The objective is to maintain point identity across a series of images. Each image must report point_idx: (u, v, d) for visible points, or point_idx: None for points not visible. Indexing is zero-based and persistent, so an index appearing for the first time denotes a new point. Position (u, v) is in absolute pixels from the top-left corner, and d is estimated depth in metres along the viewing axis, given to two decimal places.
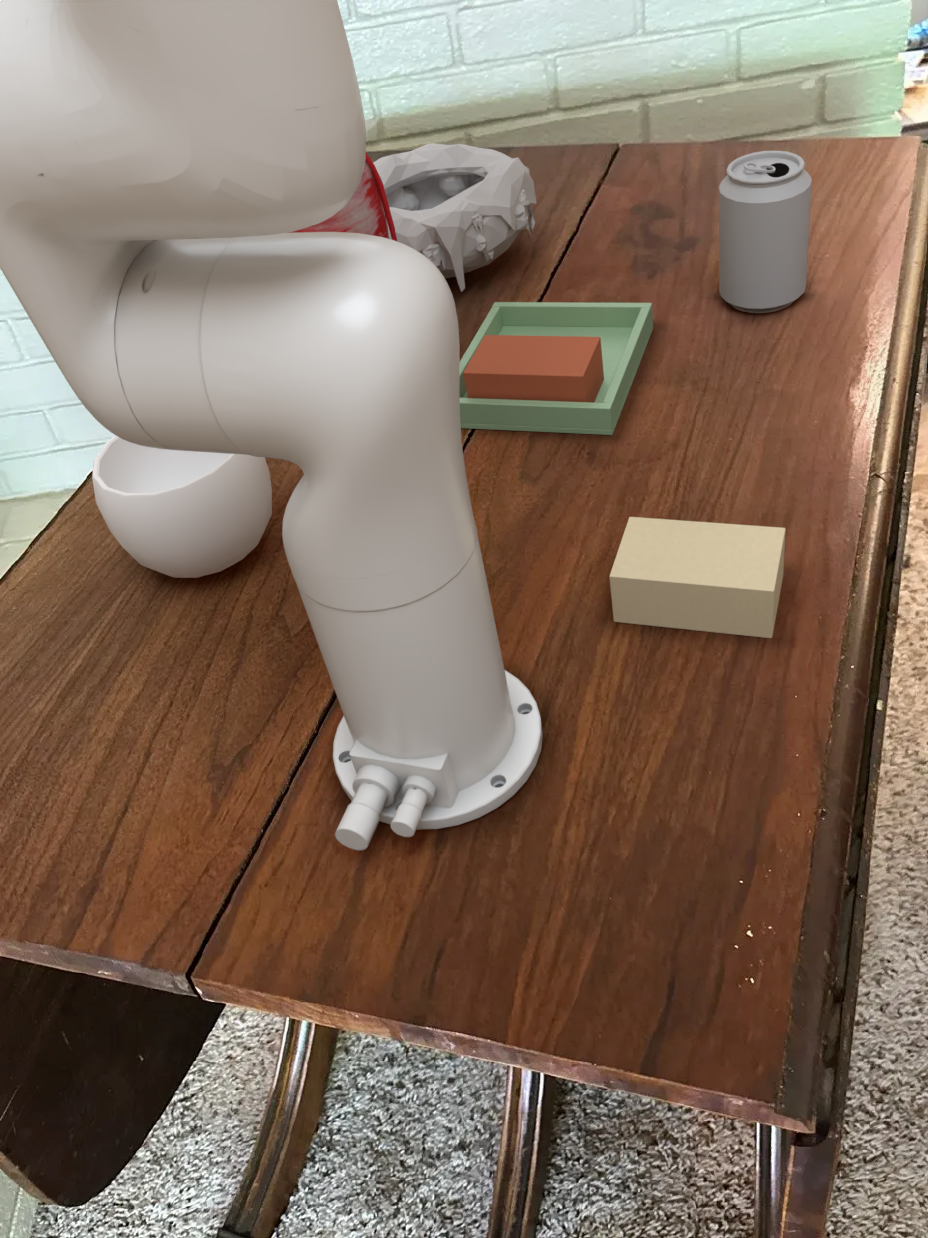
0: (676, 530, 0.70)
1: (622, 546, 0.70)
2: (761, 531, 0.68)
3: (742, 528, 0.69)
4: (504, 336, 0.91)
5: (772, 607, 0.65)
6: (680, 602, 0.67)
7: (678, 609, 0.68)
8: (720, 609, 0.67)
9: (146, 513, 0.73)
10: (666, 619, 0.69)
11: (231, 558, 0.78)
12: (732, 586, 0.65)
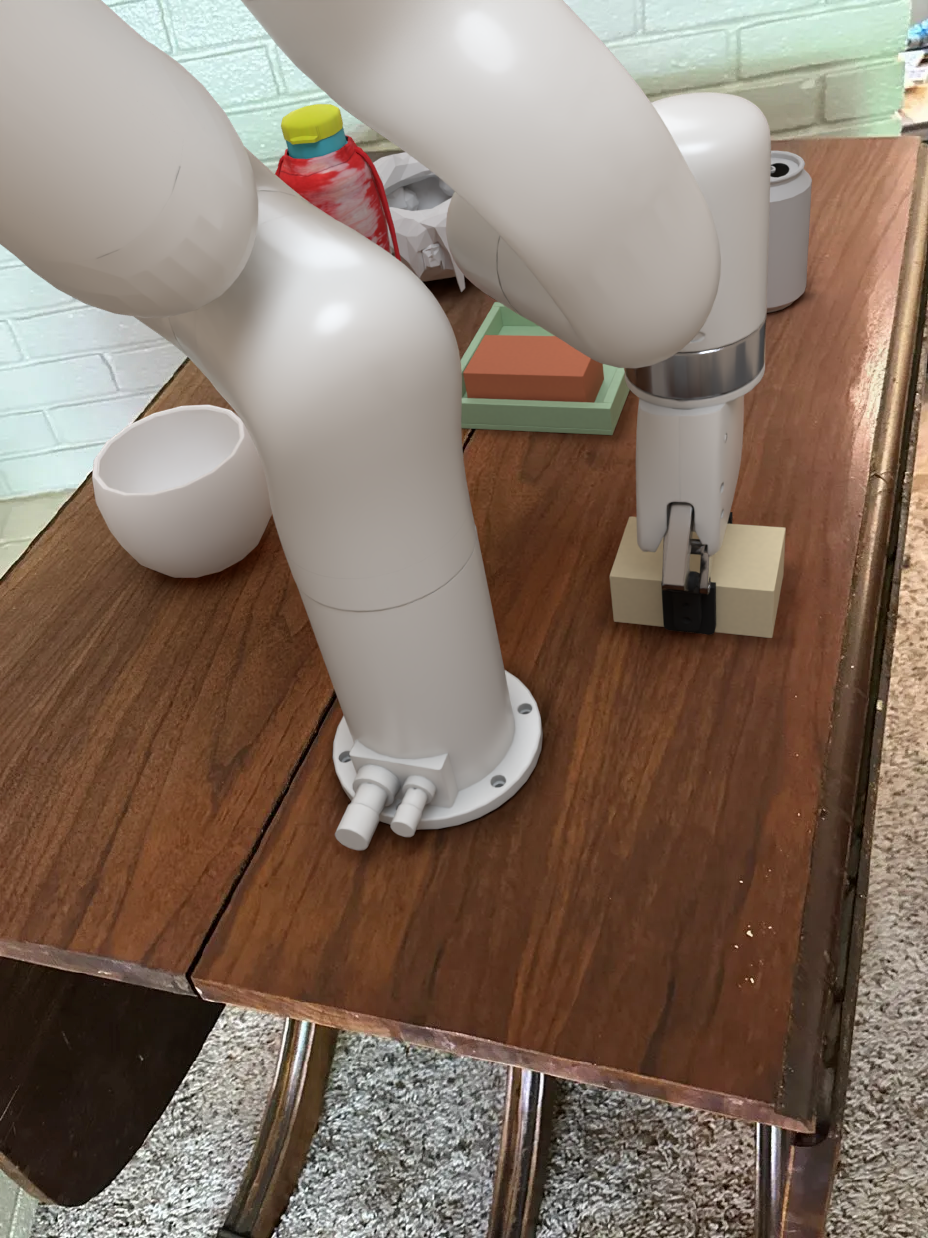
0: None
1: (622, 546, 0.70)
2: (761, 531, 0.68)
3: (742, 527, 0.69)
4: (504, 336, 0.91)
5: (772, 607, 0.65)
6: None
7: None
8: (720, 608, 0.67)
9: (146, 513, 0.73)
10: None
11: (231, 558, 0.78)
12: (732, 586, 0.65)
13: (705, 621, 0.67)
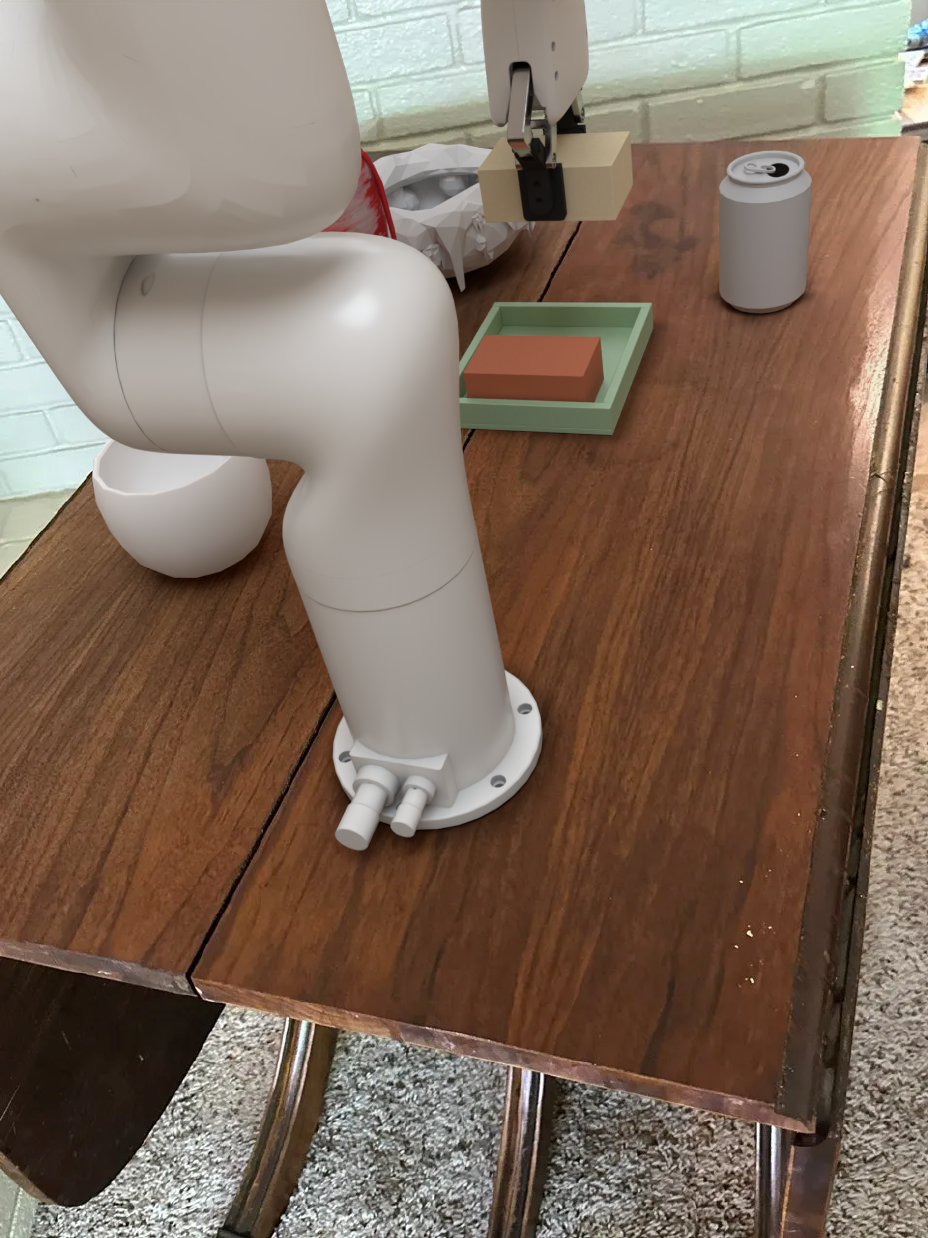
0: None
1: (491, 153, 0.81)
2: (609, 134, 0.79)
3: (594, 134, 0.80)
4: (504, 336, 0.91)
5: (612, 184, 0.76)
6: None
7: None
8: (570, 193, 0.78)
9: (146, 513, 0.73)
10: None
11: (231, 558, 0.78)
12: (577, 165, 0.76)
13: (556, 205, 0.78)
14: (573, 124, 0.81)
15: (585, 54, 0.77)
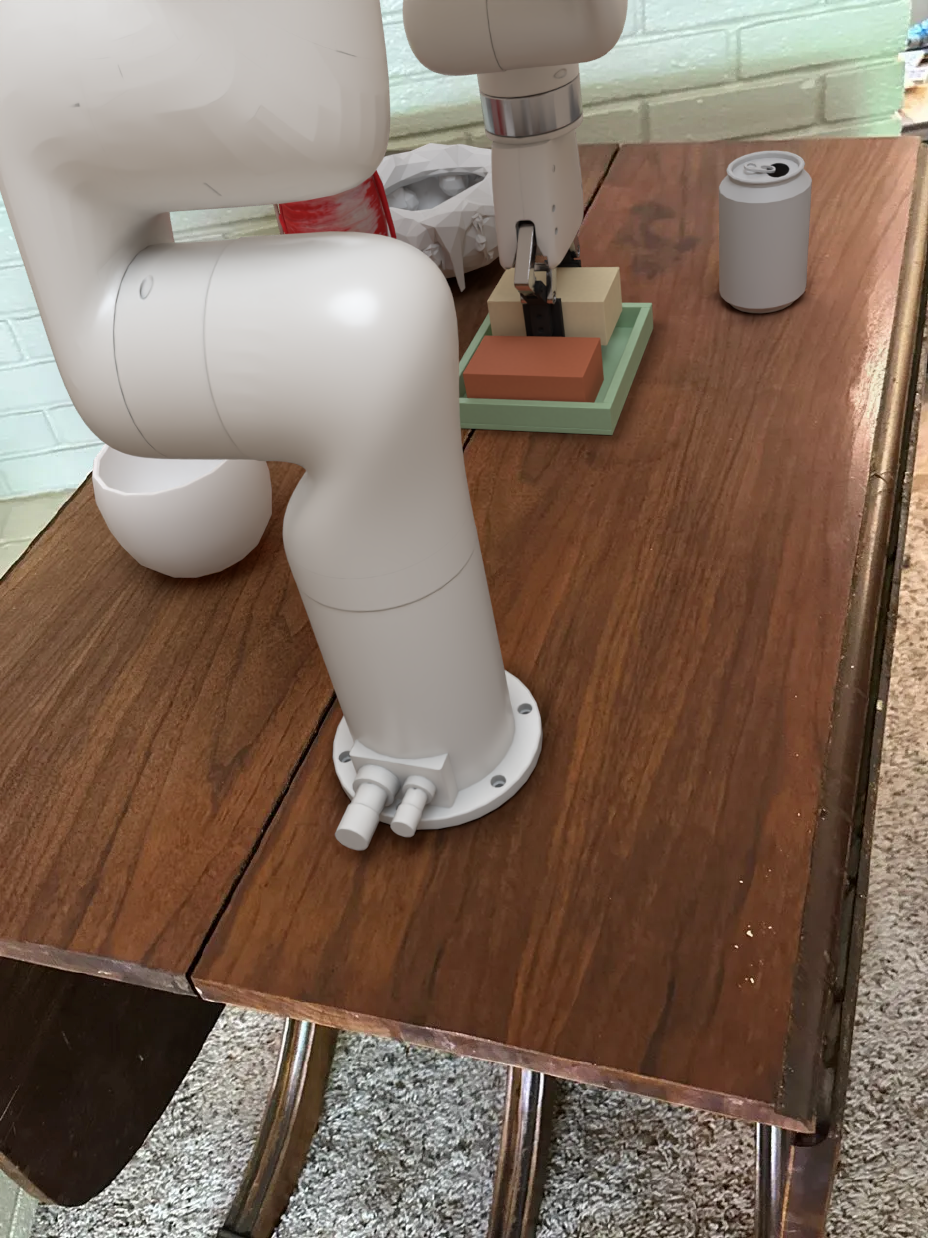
0: (540, 272, 0.93)
1: (499, 284, 0.93)
2: (601, 269, 0.91)
3: (588, 268, 0.92)
4: (504, 337, 0.91)
5: (604, 316, 0.88)
6: None
7: None
8: (568, 322, 0.90)
9: (145, 513, 0.73)
10: None
11: (231, 558, 0.78)
12: (574, 300, 0.88)
13: (556, 332, 0.90)
14: (570, 259, 0.93)
15: (580, 204, 0.89)
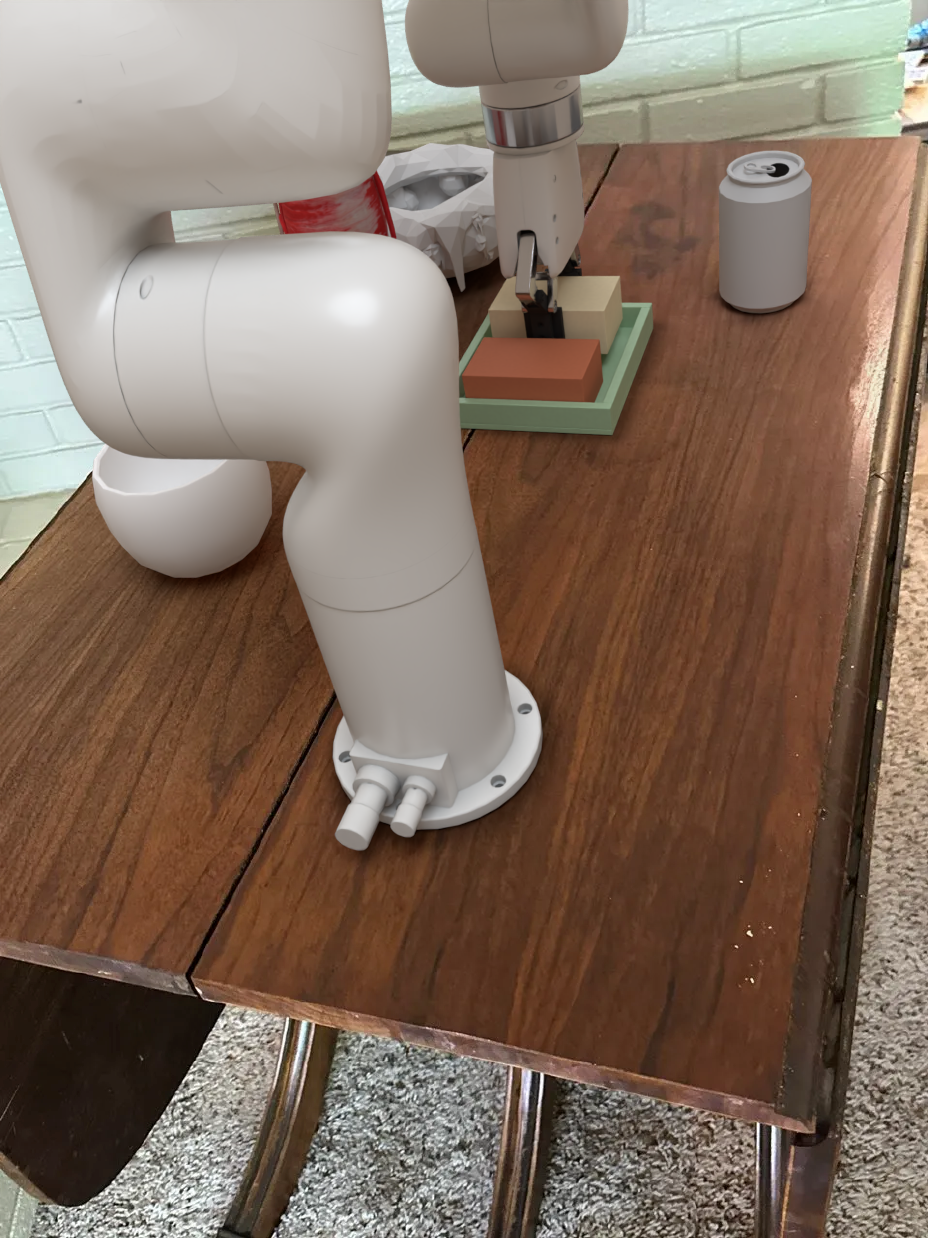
0: (541, 281, 0.93)
1: (500, 292, 0.93)
2: (602, 278, 0.92)
3: (588, 277, 0.92)
4: (503, 338, 0.90)
5: (604, 325, 0.89)
6: None
7: None
8: (568, 331, 0.90)
9: (145, 513, 0.73)
10: None
11: (231, 558, 0.78)
12: (575, 309, 0.89)
13: None
14: (571, 268, 0.93)
15: (581, 213, 0.89)
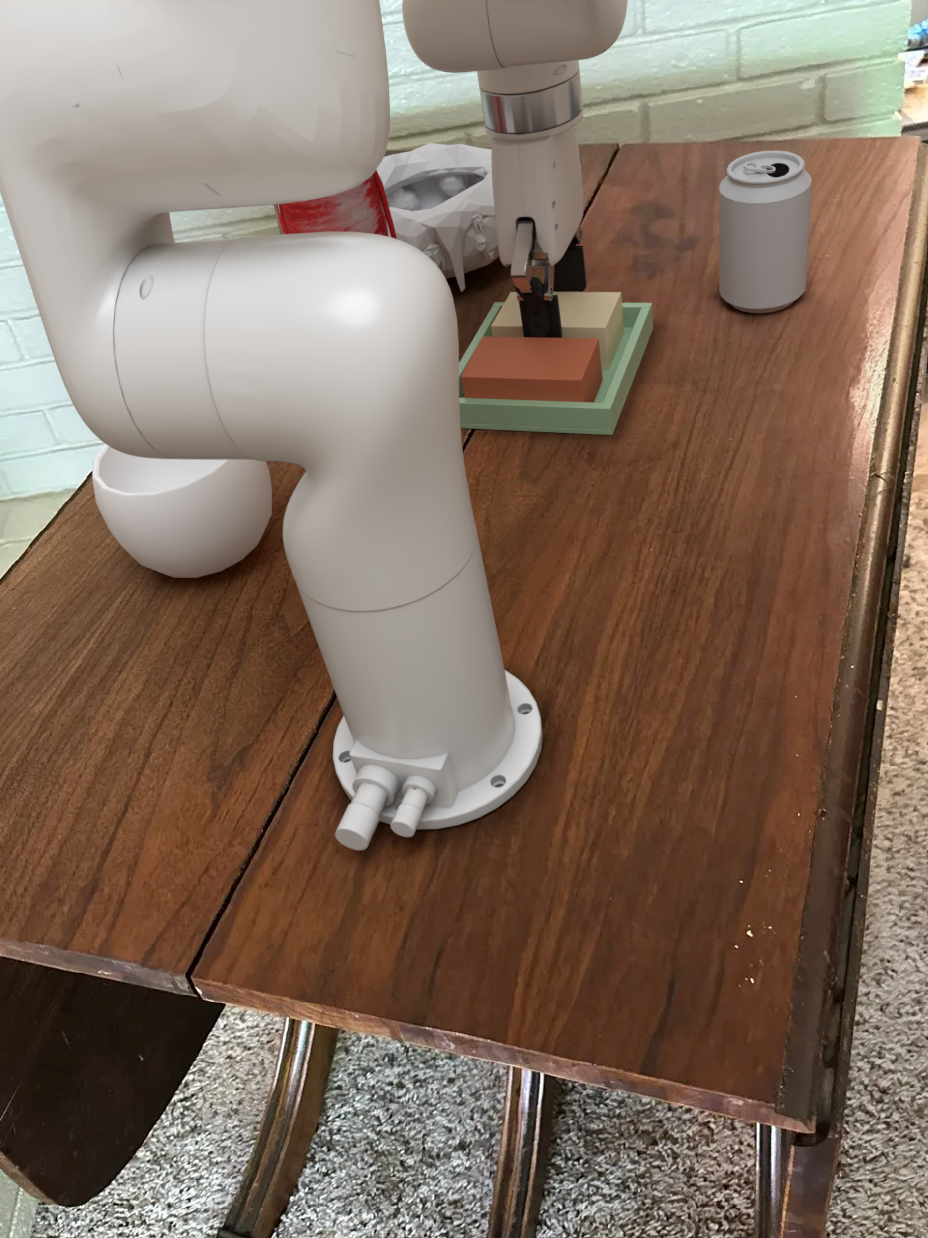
0: None
1: (502, 308, 0.94)
2: (603, 294, 0.93)
3: (590, 293, 0.94)
4: (502, 338, 0.90)
5: (606, 341, 0.90)
6: None
7: None
8: None
9: (146, 513, 0.73)
10: None
11: (231, 558, 0.78)
12: (576, 326, 0.90)
13: (553, 329, 0.89)
14: (572, 245, 0.93)
15: (580, 200, 0.89)
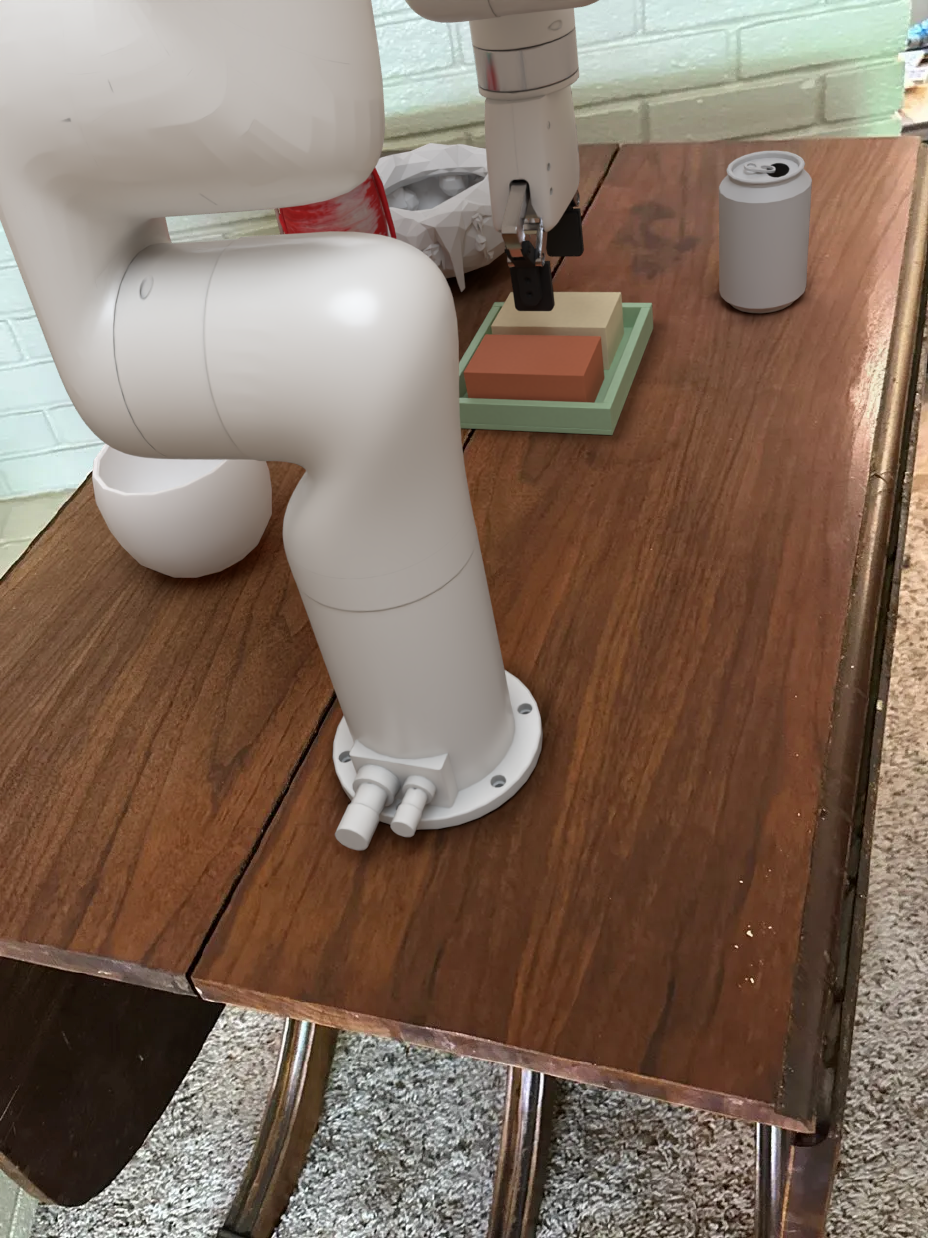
0: None
1: (502, 308, 0.94)
2: (603, 294, 0.93)
3: (590, 293, 0.94)
4: (505, 335, 0.91)
5: (606, 341, 0.90)
6: None
7: None
8: None
9: (145, 513, 0.73)
10: None
11: (231, 558, 0.78)
12: (576, 326, 0.90)
13: (545, 298, 0.86)
14: (569, 208, 0.91)
15: (576, 167, 0.87)
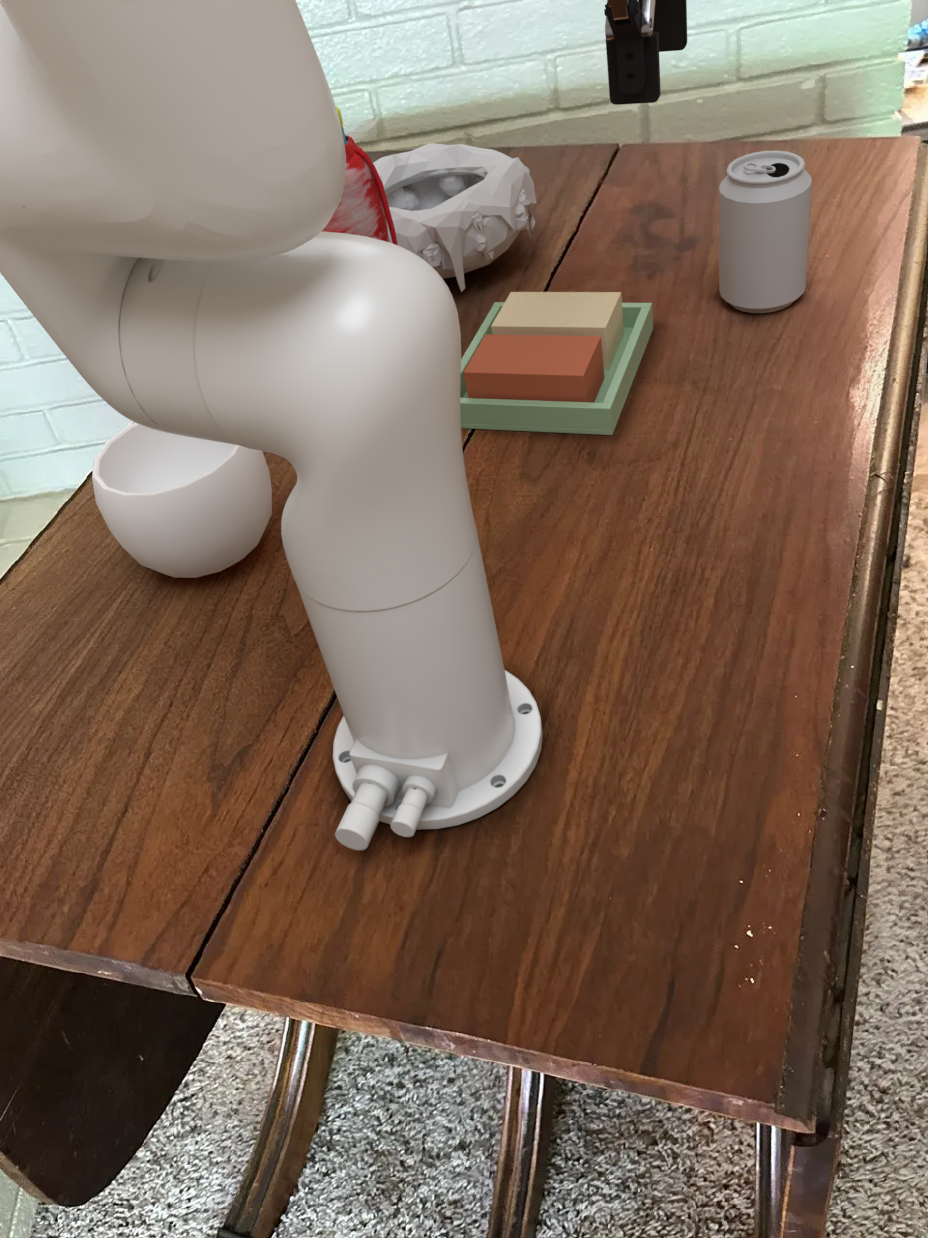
0: (543, 297, 0.94)
1: (502, 308, 0.94)
2: (603, 294, 0.93)
3: (590, 293, 0.94)
4: (505, 335, 0.91)
5: (606, 341, 0.90)
6: None
7: None
8: None
9: (145, 513, 0.73)
10: None
11: (231, 558, 0.78)
12: (576, 326, 0.90)
13: (649, 83, 0.69)
14: None
15: None
